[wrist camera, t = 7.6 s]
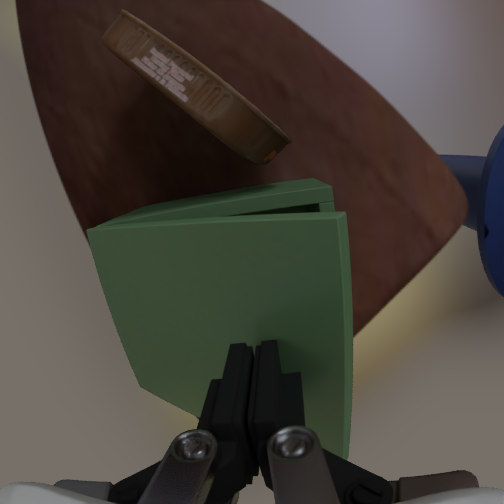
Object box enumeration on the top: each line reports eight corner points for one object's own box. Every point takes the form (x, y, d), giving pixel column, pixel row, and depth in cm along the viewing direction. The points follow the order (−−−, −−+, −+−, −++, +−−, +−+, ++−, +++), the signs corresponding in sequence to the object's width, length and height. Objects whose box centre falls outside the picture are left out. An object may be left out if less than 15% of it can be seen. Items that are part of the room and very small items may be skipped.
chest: (313, 177, 23) (332, 186, 15) (327, 311, 26) (344, 366, 18) (144, 206, 24) (95, 226, 17) (175, 327, 27) (146, 380, 20)
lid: (346, 211, 8) (338, 217, 8) (348, 456, 12) (342, 469, 11) (96, 226, 17) (85, 230, 16) (148, 381, 20) (140, 386, 19)
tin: (292, 141, 22) (301, 131, 14) (263, 171, 23) (256, 177, 15) (155, 31, 20) (109, -11, 12) (130, 58, 21) (75, 27, 13)
